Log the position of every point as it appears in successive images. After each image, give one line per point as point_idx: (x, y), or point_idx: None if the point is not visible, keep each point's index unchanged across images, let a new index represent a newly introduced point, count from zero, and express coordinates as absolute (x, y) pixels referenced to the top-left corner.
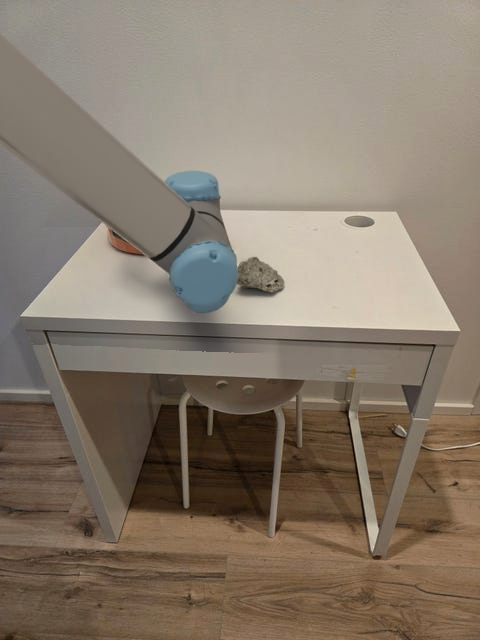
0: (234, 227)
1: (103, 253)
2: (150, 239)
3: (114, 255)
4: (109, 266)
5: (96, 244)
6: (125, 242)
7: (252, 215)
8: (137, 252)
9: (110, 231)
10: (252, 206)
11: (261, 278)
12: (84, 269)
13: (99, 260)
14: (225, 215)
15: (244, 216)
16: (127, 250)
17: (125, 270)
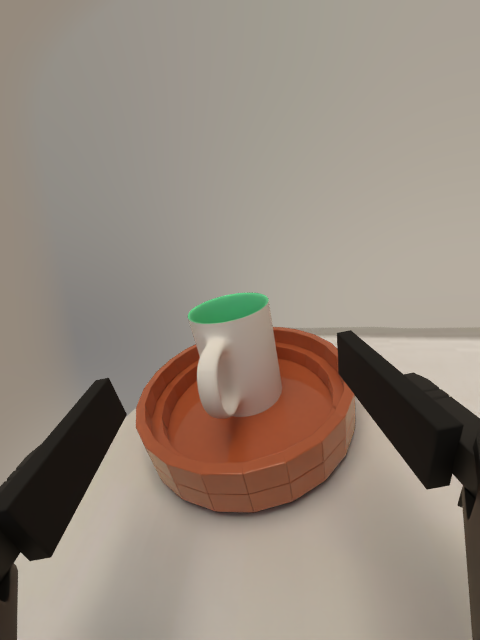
0: (451, 393)
1: (121, 466)
2: None
3: (136, 483)
4: (87, 558)
5: (132, 424)
6: (153, 463)
7: (472, 352)
8: (183, 497)
9: (137, 415)
10: (448, 328)
11: None
12: (23, 556)
13: (91, 504)
14: (398, 351)
15: (451, 355)
16: (162, 480)
17: (107, 623)
